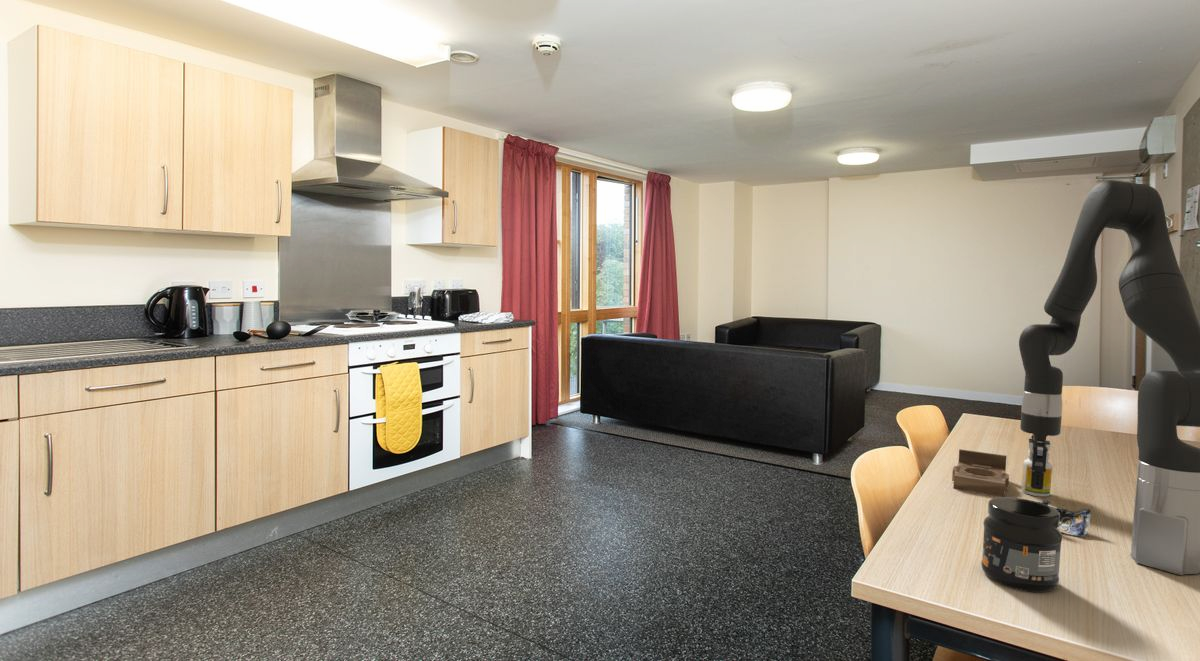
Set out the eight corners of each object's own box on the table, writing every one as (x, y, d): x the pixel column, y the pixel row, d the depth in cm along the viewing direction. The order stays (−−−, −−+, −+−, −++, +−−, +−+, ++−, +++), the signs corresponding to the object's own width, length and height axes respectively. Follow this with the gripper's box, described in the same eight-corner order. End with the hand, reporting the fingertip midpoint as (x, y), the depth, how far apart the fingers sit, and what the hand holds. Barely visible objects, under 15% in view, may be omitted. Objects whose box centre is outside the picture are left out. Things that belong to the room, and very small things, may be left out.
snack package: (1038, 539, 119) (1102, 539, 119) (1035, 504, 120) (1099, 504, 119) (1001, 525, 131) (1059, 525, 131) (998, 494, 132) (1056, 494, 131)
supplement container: (989, 558, 109) (993, 491, 108) (1063, 579, 102) (1069, 506, 101) (973, 578, 102) (977, 506, 101) (1052, 602, 95) (1058, 524, 94)
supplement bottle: (1016, 489, 147) (1019, 448, 147) (1041, 490, 147) (1043, 449, 146) (1030, 496, 142) (1033, 454, 141) (1055, 497, 141) (1058, 455, 141)
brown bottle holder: (1007, 497, 141) (1009, 471, 141) (950, 487, 148) (951, 462, 147) (1008, 480, 154) (1009, 456, 154) (955, 471, 160) (956, 448, 160)
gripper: (1063, 419, 135) (1058, 497, 136) (1059, 408, 147) (1054, 480, 148) (1021, 415, 139) (1016, 490, 140) (1021, 405, 151) (1016, 474, 152)
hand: (1036, 484), depth 144 cm, fingers closed on supplement bottle, 5 cm apart
